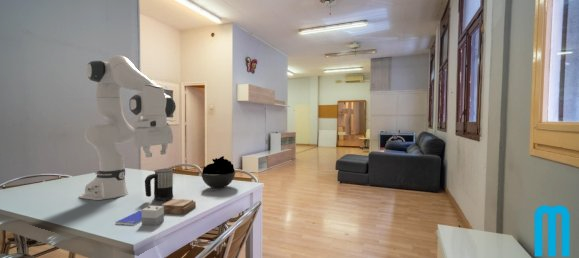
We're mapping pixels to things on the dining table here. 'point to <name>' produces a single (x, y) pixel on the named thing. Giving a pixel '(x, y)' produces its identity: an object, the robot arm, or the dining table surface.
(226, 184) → the coal bowl
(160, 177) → the milk frother
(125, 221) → the hard drive
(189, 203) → the walnut stand
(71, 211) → the dining table surface
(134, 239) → the dining table surface
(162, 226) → the dining table surface
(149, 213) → the block
